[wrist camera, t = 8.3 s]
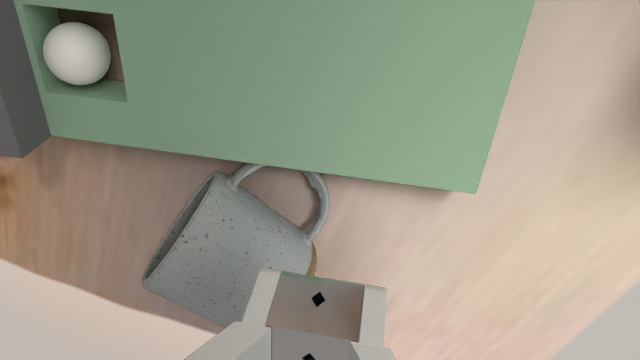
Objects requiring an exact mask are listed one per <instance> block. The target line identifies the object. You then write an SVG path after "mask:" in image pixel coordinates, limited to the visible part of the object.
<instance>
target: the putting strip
mask: <svg viewBox="0 0 640 360" xmlns="http://www.w3.org/2000/svg"><path fill="white" fill-rule="evenodd" d="M534 1H535V0H0V155H3V156H10V157H17V158H23V157H25V156H26V155H27V154H29V153H30V152H31V151H32V150H34V149H35V148H36V147H37V146H39V145H40V144H41V143H43V142H44V141H45V140H46V139H48V138H49V137H50V136H57V137H64V138H71V139H78V140H86V141H93V142H100V143H108V144H115V145H122V146H129V147H137V148H144V149H151V150H159V151H166V152H173V153H181V154H188V155H195V156H202V157H210V158H217V159H224V160H232V161H239V162H246V163H253V164H261V165H268V166H275V167H283V168H290V169H297V170H304V171H312V172H319V173H326V174H334V175H341V176H348V177H355V178H363V179H370V180H377V181H385V182H392V183H399V184H406V185H414V186H421V187H428V188H436V189H443V190H450V191H458V192H465V193H472V194H476V192H477V188H478V185H479V182H480V179H481V175H482V172H483V169H484V165H485V162H486V159H487V156H488V152H489V149H490V146H491V142H492V139H493V136H494V132H495V129H496V126H497V123H498V119H499V116H500V113H501V109H502V106H503V103H504V100H505V96H506V93H507V90H508V86H509V83H510V80H511V77H512V73H513V70H514V67H515V63H516V60H517V57H518V53H519V50H520V47H521V44H522V40H523V37H524V34H525V30H526V27H527V24H528V21H529V17H530V14H531V11H532V7H533V4H534ZM57 8H63V9H72V10H81V11H90V12H98V13H107V14H113V18H114V24H115V29H116V35H117V41H118V47H119V53H120V59H121V65H122V71H123V77H124V82H123V81H115V80H107V79H99V80H98V81H96V82H94V83H91V84H88V85H74V84H70V83H67V82H65V81H63V80H61V79H59V78H58V77H56V76H55V75H54V74H53V73H52V72H51V71H50V69H49V68H48V66H47V65H46V62H45V60H44V57H43V44H44V40H45V38H46V36H47V35H48V33H49V32H50V31H51V30H52V29H53V28H55V27H56V26H58V25H60V19H59V15H58V11H57Z"/></svg>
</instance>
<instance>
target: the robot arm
mask: <svg viewBox="0 0 640 360" xmlns="http://www.w3.org/2000/svg"><path fill="white" fill-rule="evenodd" d="M386 295H387V291H386V288H384V287H378V286H371V285H364V284H360V283H353V282H347V281H340V280H334V279H327V278H318V277H313V276H308V275H302V274H297V273H292V272H287V271H280V270H274V269H269V268H264V267H262V268H261V270H260V271H259V272H258V275H257V278H256V281H255V284H254V286H253V289H252V292H251V295H250V298H249V300H248V303H247V306H246V309H245V312H244V314H243V317H242V320H241V322H238V321H234V322H233V323H232V324H230V325H229V326H228V327H226V328H225V329H224V330H222V331H221V332H220V333H218V334H217V335H216V336H215V337H213V338H212V339H211V340H209V341H208V342H207V343H205V344H204V345H203V346H201V347H200V348H199V349H197V350H196V351H195V352H193V353H192V354H191V355H189V356H188V357H187V358H185V359H184V360H396V358H395V356H394V355H393V353H392V351H391V350H390V348H386V347H383V345H384V328H385V312H386Z"/></svg>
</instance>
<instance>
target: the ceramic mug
mask: <svg viewBox="0 0 640 360" xmlns="http://www.w3.org/2000/svg"><path fill="white" fill-rule="evenodd" d="M265 166H268V165H261V164H253V163H246V164H245V165H244V166H242V167H241V168H240V169H239V170H237V171H236V172H235V174H234V175H233V176H231V177H228V176H227V175H225V174H224V173H222V172H220V171H216V172H214V173H213V174H211V175H210V176H209V177H208V178H207V180H206V181H205V182H204V183H203V184H202V185H201V186H200V187H199V189H198V190H197V191H196V193H195V194H194V195H193V196H192V197H191V199H190V200H189V202H188V203H187V204H186V206H185V207H184V209H183V210H182V212H181V213H180V214H179V216H178V217H177V219H176V220H175V222H174V223H173V225H172V226H171V227H170V229H169V230H168V232H167V234H166V236H165V237H164V239H163V240H162V242H161V244H160V246H159V248H158V249H157V250H156V253H155V254H154V256H153V258H152V260H151V261H150V263H149V265H148V267H147V269H146V271H145V273H144V275H143V278H142V285H143V287H144V288H146V289H148V290H150V291H152V292H154V293H156V294H158V295H160V296H162V297H165V298H167V299H169V300H171V301H172V302H174V303H176V304H178V305H180V306H182V307H184V308H186V309H188V310H190V311H192V312H194V313H197V314H199V315H201V316H203V317H205V318H207V319H209V320H211V321H213V322H215V323H217V324H219V325H221V326H222V327H224V328H226V327H228V326H229V325H230V324H232V323H233V322H234V321H238V322H241V320H242V317H243V314H244V312H245V309H246V306H247V303H248V300H249V298H250V295H251V292H252V289H253V286H254V284H255V281H256V278H257V275H258V272H259V271H260V270H261V268H262V267H264V268H269V269H274V270H280V271H287V272H292V273H297V274H302V275H308V276H313V277H314V273H315V269H316V263H317V259H316V250H315V247H314V245H313V242H312V239H314V238H315V237H316V235H317V234H318V233H319V232H320V230H321V228H322V226H323V224H324V223H325V220H326V217H327V214H328V210H329V193H328V190H327V187H326V184H325V182H324V180H323V178H322V176H321V174H320V173H319V172H312V171H304V170H300V171H301V172H302V173H303V174H304V175H305V176H306V177H307V178H308V180H309V181H310V186H311V187H313V188H314V189H316V190H317V193H318V195H319V197H320V201H319V207H318V209H317V211H316V214H315V216H314V218H313V219H312V221H311V223H310V224H309V225H308V227H307V228H306V229H305V230H301V229H300V228H298V227H297V226H295V225H294V224H292V223H291V222H290V221H289V220H287V219H286V218H284V217H282V216H281V215H279V214H277V213H276V212H275V211H273V210H272V209H270V208H269V207H268V206H267V205H265V204H264V203H263V202H262V201H260V200H259V199H258V198H257V197H255V196H254V195H253V194H251V193H250V192H249V191H248V190H247V189H245V188H243V187H242V186H240V185H239V183H240V182H241V181H242V180H243V179H244V178H246V177H247V176H249V175H250V174H252V173H253V172H255V171H257V170H258V169H260V168H262V167H265Z"/></svg>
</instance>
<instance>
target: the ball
mask: <svg viewBox="0 0 640 360" xmlns="http://www.w3.org/2000/svg"><path fill="white" fill-rule="evenodd" d="M43 57H44V60H45V62H46V65H47V66H48V68H49V69H50V71H51V72H52V73H53V74H54V75H55V76H56V77H58V78H59V79H61V80H63V81H65V82H67V83H70V84H74V85H88V84H91V83H94V82H96V81H98V80H99V79H101V78H102V77H103V76H104V75H105V74H106V72H107V71H108V69H109V66H110V63H111V51H110V47H109V45H108V43H107V41H106V39H105V38H104V37H103V35H102V34H101V33H100V32H99V31H97V30H96V29H95V28H93V27H91V26H89V25H87V24H84V23H79V22H67V23H63V24H60V25H58V26H56V27H55V28H53V29H52V30H51V31H50V32H49V33H48V35H47V36H46V38H45V40H44V44H43Z"/></svg>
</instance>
